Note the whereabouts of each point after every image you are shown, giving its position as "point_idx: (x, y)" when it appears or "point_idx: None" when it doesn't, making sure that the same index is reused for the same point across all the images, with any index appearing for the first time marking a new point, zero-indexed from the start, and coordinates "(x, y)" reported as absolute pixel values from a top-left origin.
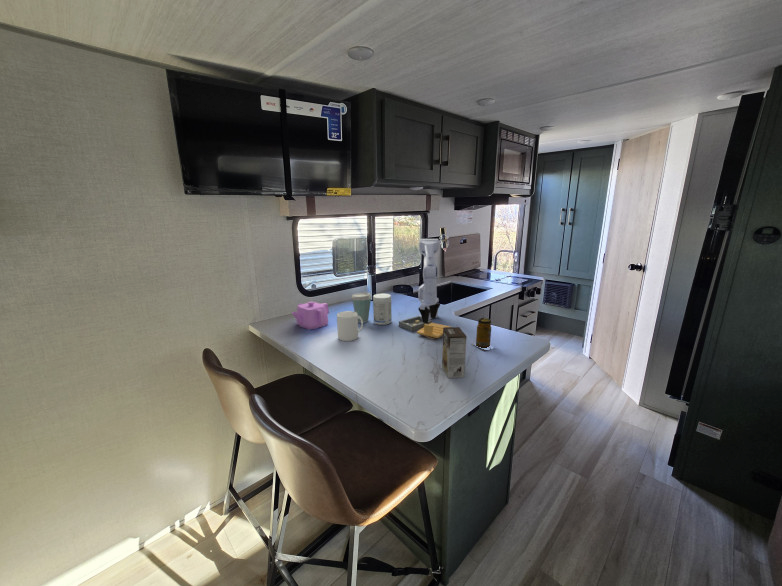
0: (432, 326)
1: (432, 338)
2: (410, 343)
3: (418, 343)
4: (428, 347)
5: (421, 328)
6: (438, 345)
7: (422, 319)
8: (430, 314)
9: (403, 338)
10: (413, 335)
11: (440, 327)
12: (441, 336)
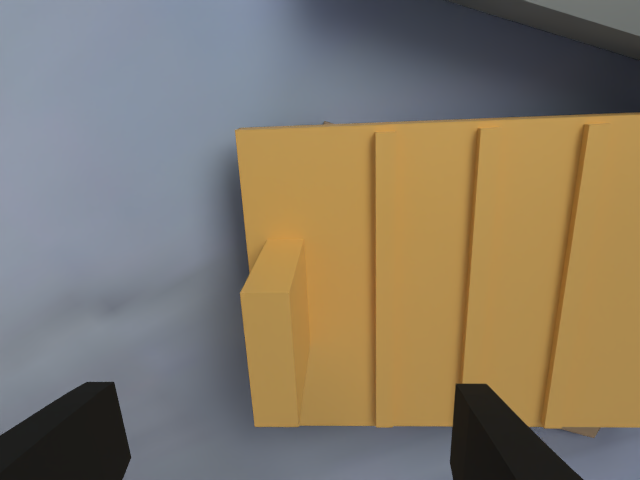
0: (282, 418)
1: None
2: (3, 195)
3: (71, 268)
4: (70, 390)
5: (537, 27)
6: (175, 440)
7: (24, 424)
8: (485, 433)
9: (49, 22)
10: (227, 80)
11: (564, 343)
12: None
